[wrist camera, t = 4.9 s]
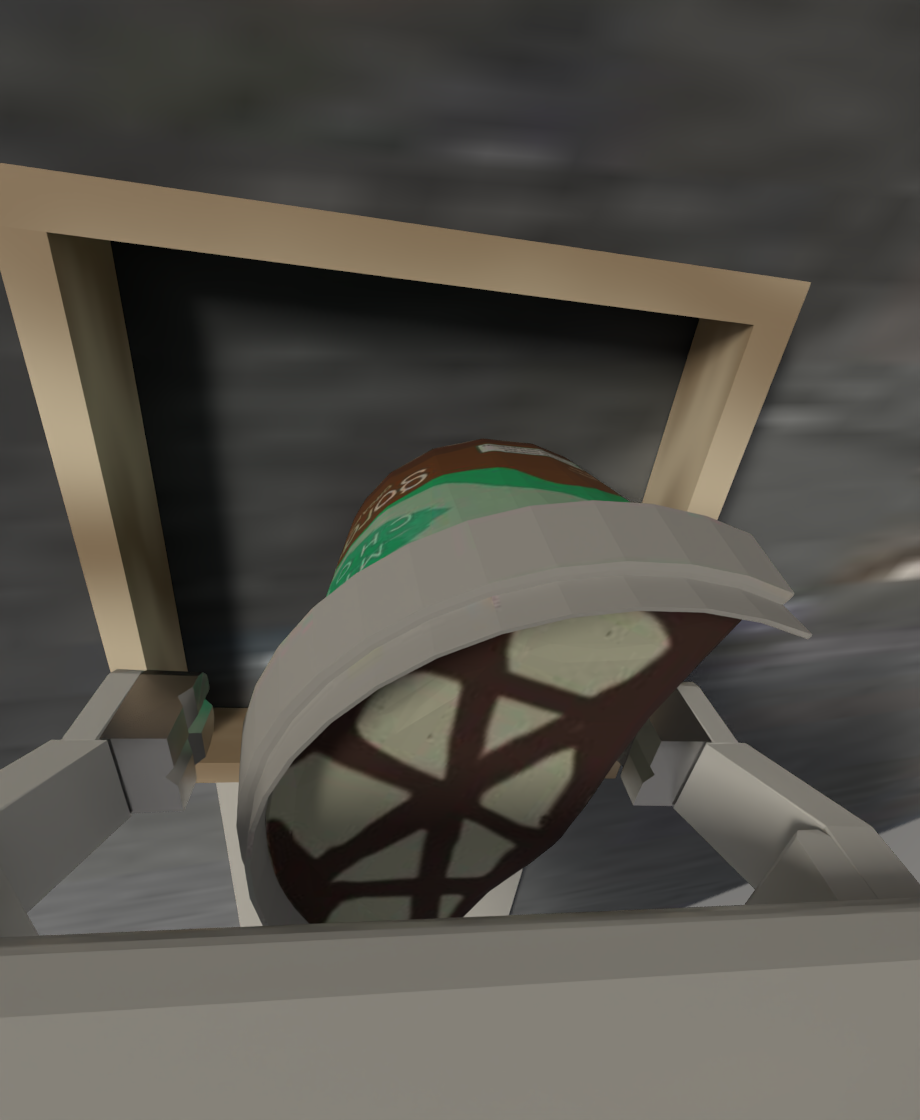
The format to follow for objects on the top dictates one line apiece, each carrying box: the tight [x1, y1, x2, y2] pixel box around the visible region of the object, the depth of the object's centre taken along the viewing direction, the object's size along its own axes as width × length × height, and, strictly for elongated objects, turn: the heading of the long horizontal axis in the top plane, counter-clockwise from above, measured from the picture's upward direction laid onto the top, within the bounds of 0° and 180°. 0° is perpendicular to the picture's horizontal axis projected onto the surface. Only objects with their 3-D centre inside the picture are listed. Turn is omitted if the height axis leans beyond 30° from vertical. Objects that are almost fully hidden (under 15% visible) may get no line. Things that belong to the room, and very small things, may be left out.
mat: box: [216, 782, 523, 927], centre depth 25 cm, size 14×14×1 cm
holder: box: [0, 163, 811, 783], centre depth 16 cm, size 17×17×2 cm
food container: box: [236, 439, 812, 926], centre depth 12 cm, size 12×6×10 cm, turn 151°
